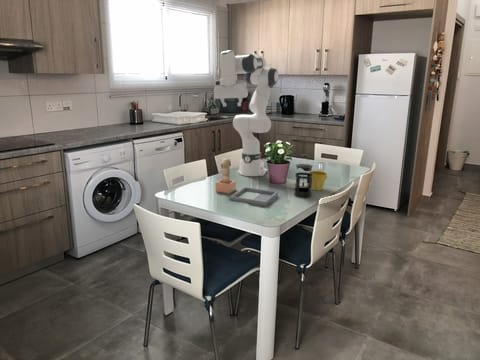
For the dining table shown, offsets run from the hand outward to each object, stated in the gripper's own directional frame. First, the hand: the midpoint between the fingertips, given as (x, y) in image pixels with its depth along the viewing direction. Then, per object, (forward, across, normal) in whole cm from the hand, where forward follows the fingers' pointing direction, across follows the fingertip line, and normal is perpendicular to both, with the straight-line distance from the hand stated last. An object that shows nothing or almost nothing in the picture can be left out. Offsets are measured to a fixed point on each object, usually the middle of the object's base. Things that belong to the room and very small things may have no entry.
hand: (232, 106), depth 224 cm
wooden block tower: (+45, 0, +16) cm, 48 cm away
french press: (+50, -40, -1) cm, 64 cm away
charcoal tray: (+47, -19, +19) cm, 54 cm away
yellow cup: (+52, -42, -17) cm, 69 cm away
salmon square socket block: (+46, 0, +16) cm, 48 cm away
